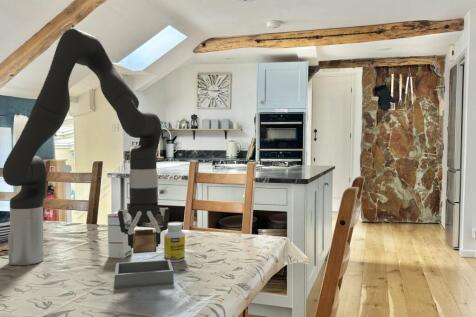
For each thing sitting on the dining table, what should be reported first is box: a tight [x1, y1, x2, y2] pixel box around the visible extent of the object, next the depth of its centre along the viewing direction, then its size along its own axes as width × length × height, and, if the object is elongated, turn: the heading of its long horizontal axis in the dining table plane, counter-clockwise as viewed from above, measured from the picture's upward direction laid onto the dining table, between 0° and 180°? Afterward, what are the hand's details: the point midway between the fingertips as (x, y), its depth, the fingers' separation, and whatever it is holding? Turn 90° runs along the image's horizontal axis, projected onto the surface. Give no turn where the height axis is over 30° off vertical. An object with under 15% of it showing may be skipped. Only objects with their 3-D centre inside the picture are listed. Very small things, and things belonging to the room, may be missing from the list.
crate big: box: [114, 259, 174, 289], centre depth 114 cm, size 15×11×4 cm
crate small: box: [132, 228, 157, 254], centre depth 113 cm, size 6×8×4 cm
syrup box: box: [107, 210, 133, 259], centre depth 137 cm, size 6×6×14 cm
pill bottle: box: [163, 222, 186, 263], centre depth 132 cm, size 6×6×12 cm
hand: (144, 246), depth 113 cm, fingers closed on crate small, 6 cm apart
